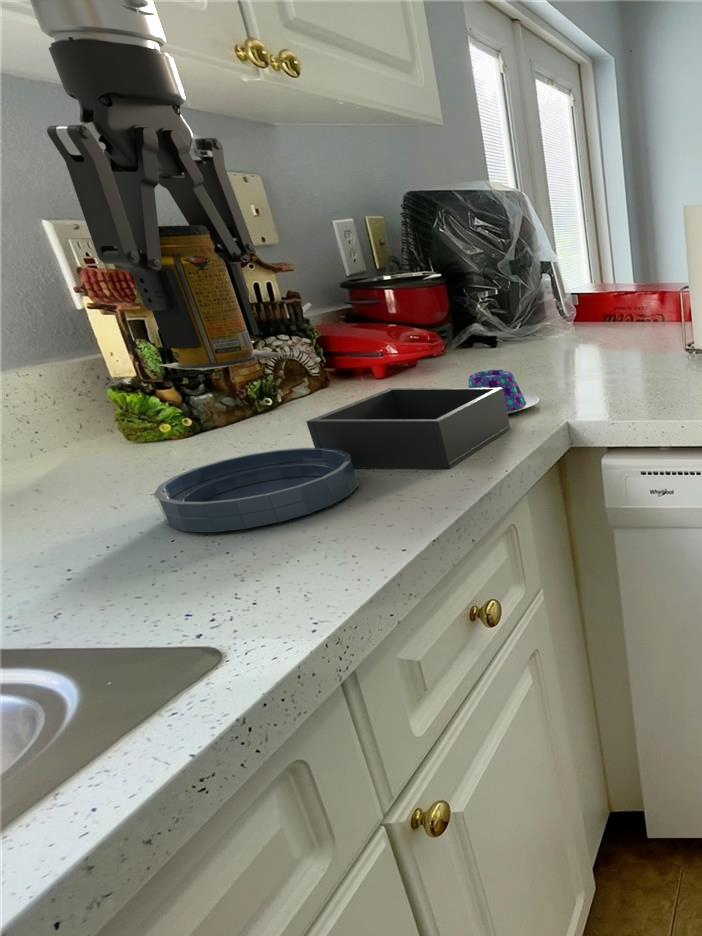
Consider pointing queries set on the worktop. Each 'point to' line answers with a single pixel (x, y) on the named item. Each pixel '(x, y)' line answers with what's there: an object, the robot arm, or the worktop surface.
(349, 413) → the bin
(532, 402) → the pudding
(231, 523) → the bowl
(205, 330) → the condiment
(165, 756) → the worktop surface
